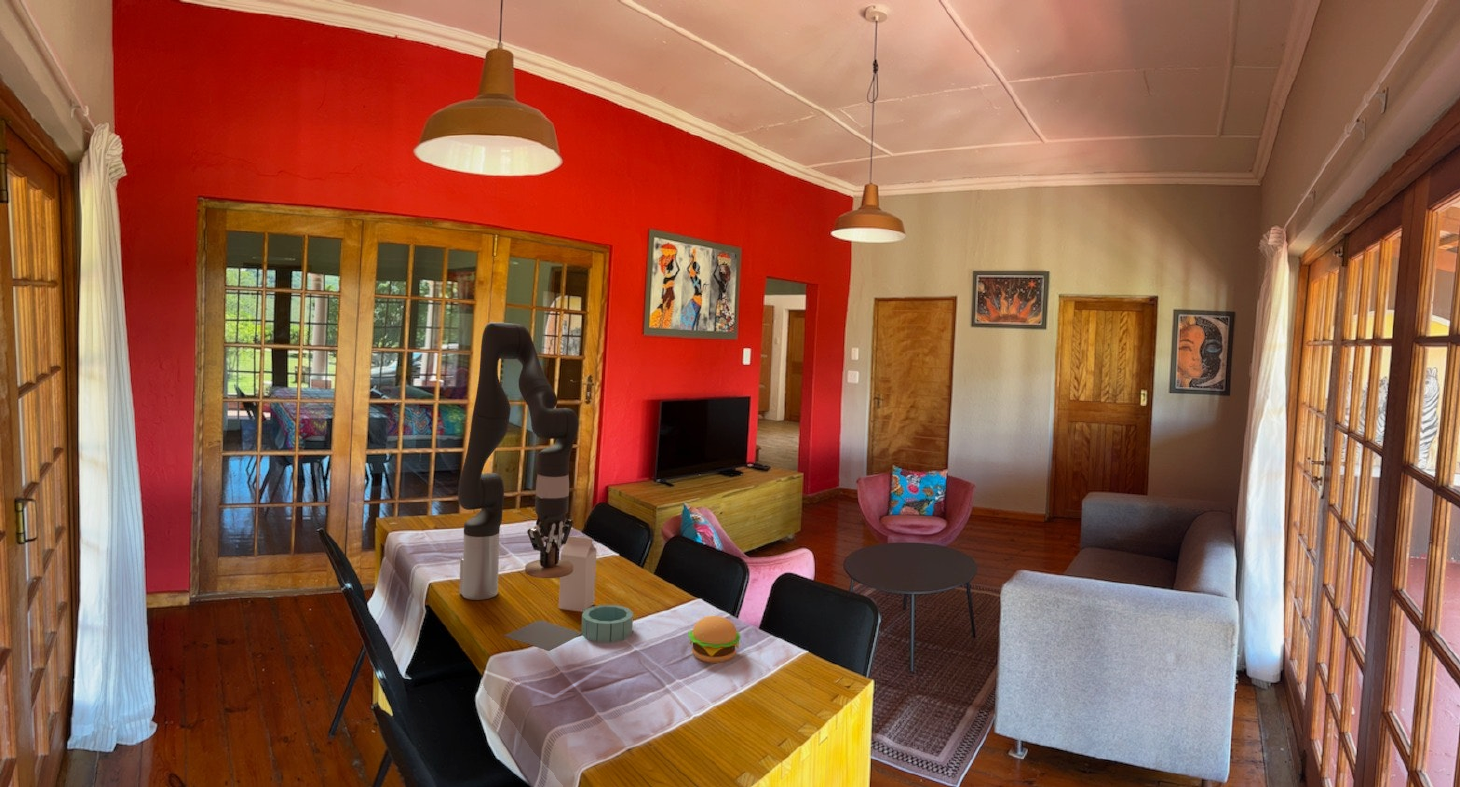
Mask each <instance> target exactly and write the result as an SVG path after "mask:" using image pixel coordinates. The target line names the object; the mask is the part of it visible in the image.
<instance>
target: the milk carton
mask: <svg viewBox="0 0 1460 787" xmlns="http://www.w3.org/2000/svg"><path fill="white" fill-rule="evenodd" d="M559 559H560V560H565V561H568V562H570V563H572V564H573V572H572V573H571V574H569V575H567V576H563V577H559V591H558V592H559V593H558V609H560V610H567V611H574V612H582V613H583V612H584V610H586V609H588V608H590V607H593V605H594V606H595V597H596V596H595V595H596V593H595V592H596V574H597V573H596V569H597V548H596V547H595V545H594V543H593V538H590V537H589V538H588V537H583V536H582V537H581V536H575V535H574V536H573V535H569V536H568V539H567V542H566V544H563V547H562V550H561V551H560V558H559Z"/></svg>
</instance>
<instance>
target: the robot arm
mask: <svg viewBox="0 0 1460 787" xmlns="http://www.w3.org/2000/svg"><path fill="white" fill-rule="evenodd" d="M480 344H481V345H480V360H479V373H478V381H477V382H478V383H477V387H476V388H477V389H476V394H475V395H476V396H475V400H474V401H475V402H474V406H473V408H472V409H473V411H472V417H471V424H470V431H469V438H468V443H467V444H468V445H467V451H466V453H465V454H466V455H465V459H464V462H463V465H462V466H463V467H462V471H461V474H460V478H459V482H458V489H457V498H458V503H459V505H460V507H461V508H462V509H463V510H467V511H470V510H471V511H472V510H478V509H479V510H480V511H478V513H476V515H475V516H474V517H472V518H470V519H468V520H466V521H465V523H464V524H463V547H462V548H463V551H462V552H463V553H462V555H463V557H462V558H461V559H460V560H459V562H460V567H459V594H460V595H461V596H462V598H464V599H467V600H472V601H483V600H488V599H492V598H494V597H496V596H497V595H498V593H499V592H498V591H499V571H500V570H499V566H500V565H499V564H500V562H499V561H500V530H501V524H502V521H503V512H504V511H503V509H504V498H505V487H504V481H503V479H502V476H500V475H499V474H498V473H496V472H487V473H485V472H484V473H483V470H484V467H485V465H486V463H487V461H488V459H489V458H490V456H491V455H492V454H493V453H494V452H495V450H496V449H497V448H498V447H499V445H500V444H501V443H502V441H503V440H504V438H505V437H506V435H507V433H508V429H509V428H508V427H509V423H510V417H511V410H512V408H511V404H510V402H509V399H508V397H507V394H506V392H505V390H504V388H503V387H502V383H501V382H500V378H499V372H498V371H499V370H498V369H499V368H498V367H499V360H500V359H501V360H517V361H518V362H520V363H521V365H522V368H521V371H520V373H519V377H518V388H519V391H520V394H521V397H522V398H523V400H524V402H525V403H526V405H527V407H528V411H529V417H530V423H531V424H530V426H531V429H532V433H533V434H534V435H535V436H536V437H537V438H539V439H541V440H552V439H554V440H555V442H554V443H553V445H551V446H548V447H546V448H543V449H541V450H540V451H539V453H538V457H537V458H538V459H537V477H536V482H535V501H534V502H535V504H534V513H536V515H537V519H536V522H535V526H534V527H533V528H528V529H527V531H526V533H527V536H528V538H529V541H530V544H531V546H532V549H533V550H534V551H538V552H539V560H540V565H541V567H545V568H548V567H549V566H550V552H549V551H550V546H554V547H555V565H556V564H558V561H559V559H560V549H562V546H564V545H565V544H566V542H567V539H568V536H570V533H571V529H572V528H573V524H574V520H573V519H569V518H567V517H566V514H567V513H569V497H570V496H569V494H570V479H569V477H570V476H569V472H570V456H571V453H572V450H573V446H574V443H575V440H576V437H577V434H578V430H579V417H578V415H577V413H576V412H575V411H574V410H573V409H572V408H569V407H568V408H567V407H564V408H563V407H560V408H559V407H557V404H558V397H557V394H556V393H555V390H554V388H553V387H552V385H551V384H550V382H549V380H548V379H547V377H546V375H545V373H544V371H543V368H542V365H541V362H540V359H539V356H538V352H537V350H536V347H535V345H534V344H535V343H534V342H533V339H532V336H531V333H530V332H529V330H528V329H527V327H526V326H525V325H522V324H519V323H509V322H500V321H499V322H495V321H493V322H492V321H491V322H489V323H487V324H486V325H485V327H484V330H483V333H482V338H481V343H480ZM556 407H557V408H556Z"/></svg>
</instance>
